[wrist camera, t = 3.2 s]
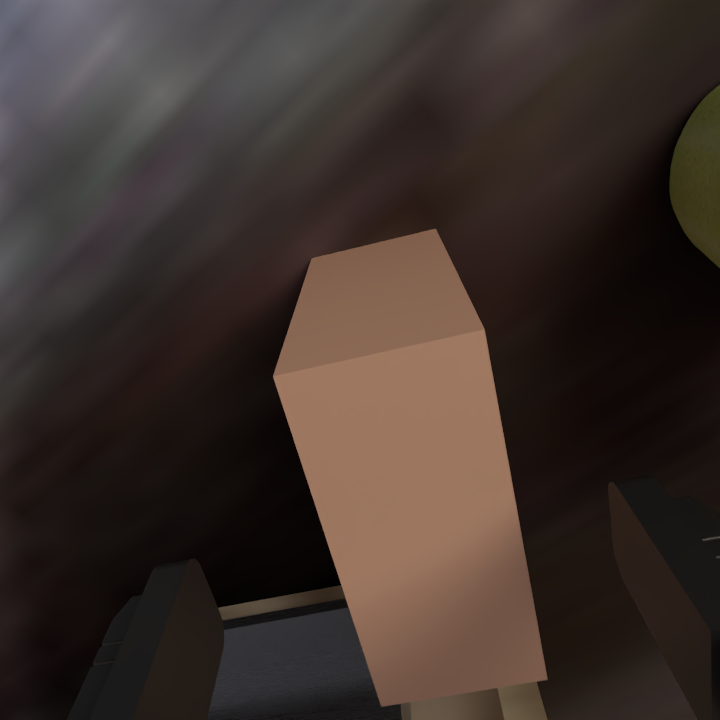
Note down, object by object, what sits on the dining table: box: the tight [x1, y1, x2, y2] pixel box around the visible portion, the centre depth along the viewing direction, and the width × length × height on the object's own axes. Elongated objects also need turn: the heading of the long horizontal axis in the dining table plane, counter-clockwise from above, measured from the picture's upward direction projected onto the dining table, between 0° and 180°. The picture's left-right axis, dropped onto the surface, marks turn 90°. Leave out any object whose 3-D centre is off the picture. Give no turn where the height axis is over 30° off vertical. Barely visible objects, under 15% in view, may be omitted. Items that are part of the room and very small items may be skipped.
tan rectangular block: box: [273, 229, 548, 707], centre depth 18 cm, size 4×9×9 cm, turn 14°
